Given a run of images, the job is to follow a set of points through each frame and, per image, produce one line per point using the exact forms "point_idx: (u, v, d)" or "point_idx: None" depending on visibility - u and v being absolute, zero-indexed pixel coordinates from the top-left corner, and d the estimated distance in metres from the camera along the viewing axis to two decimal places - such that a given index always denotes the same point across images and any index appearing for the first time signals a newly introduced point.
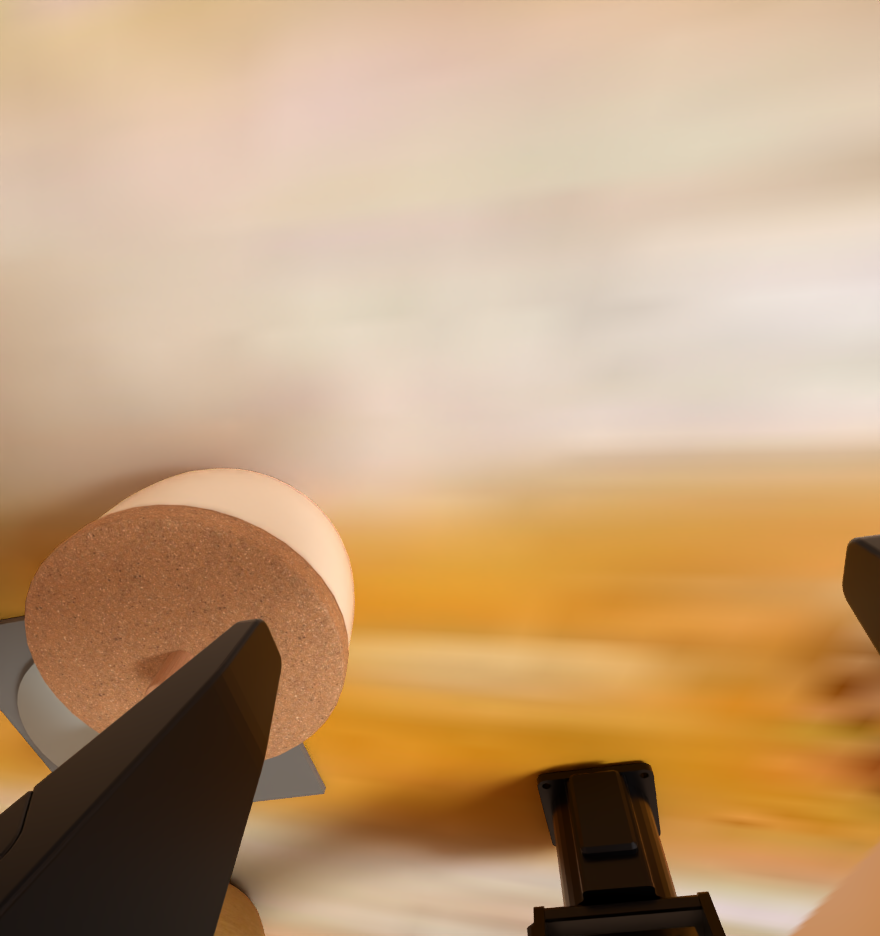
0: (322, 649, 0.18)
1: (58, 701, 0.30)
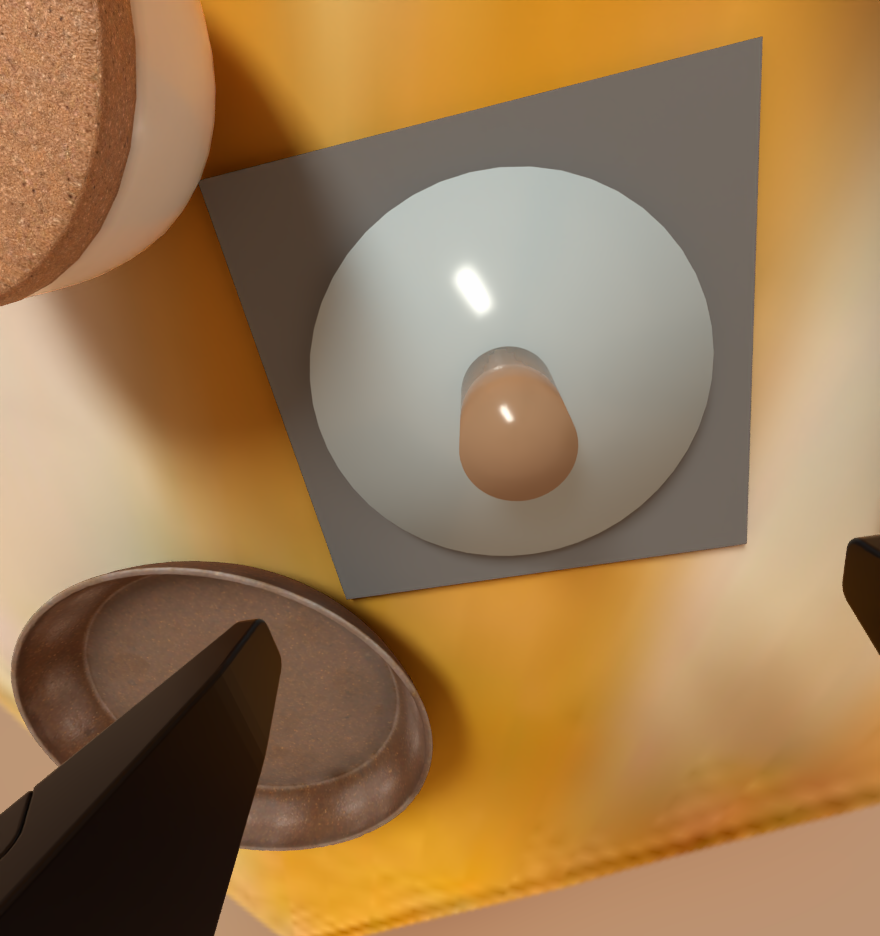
0: None
1: (437, 491, 0.20)
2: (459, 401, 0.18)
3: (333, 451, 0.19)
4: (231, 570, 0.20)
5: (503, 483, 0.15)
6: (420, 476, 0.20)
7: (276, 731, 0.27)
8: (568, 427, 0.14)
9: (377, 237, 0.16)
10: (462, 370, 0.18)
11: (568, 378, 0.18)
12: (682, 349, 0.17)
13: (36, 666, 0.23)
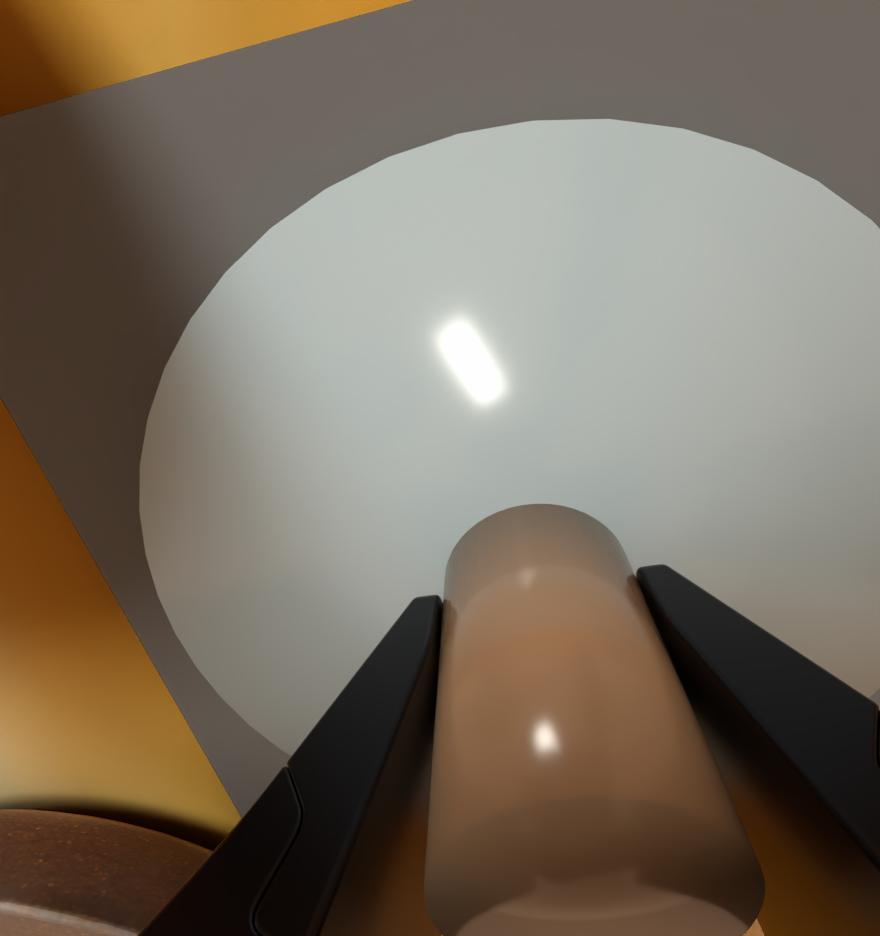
0: None
1: None
2: (441, 597, 0.09)
3: (207, 670, 0.10)
4: (21, 882, 0.11)
5: None
6: None
7: None
8: (742, 868, 0.05)
9: (252, 284, 0.07)
10: (446, 544, 0.09)
11: (661, 562, 0.09)
12: None
13: None
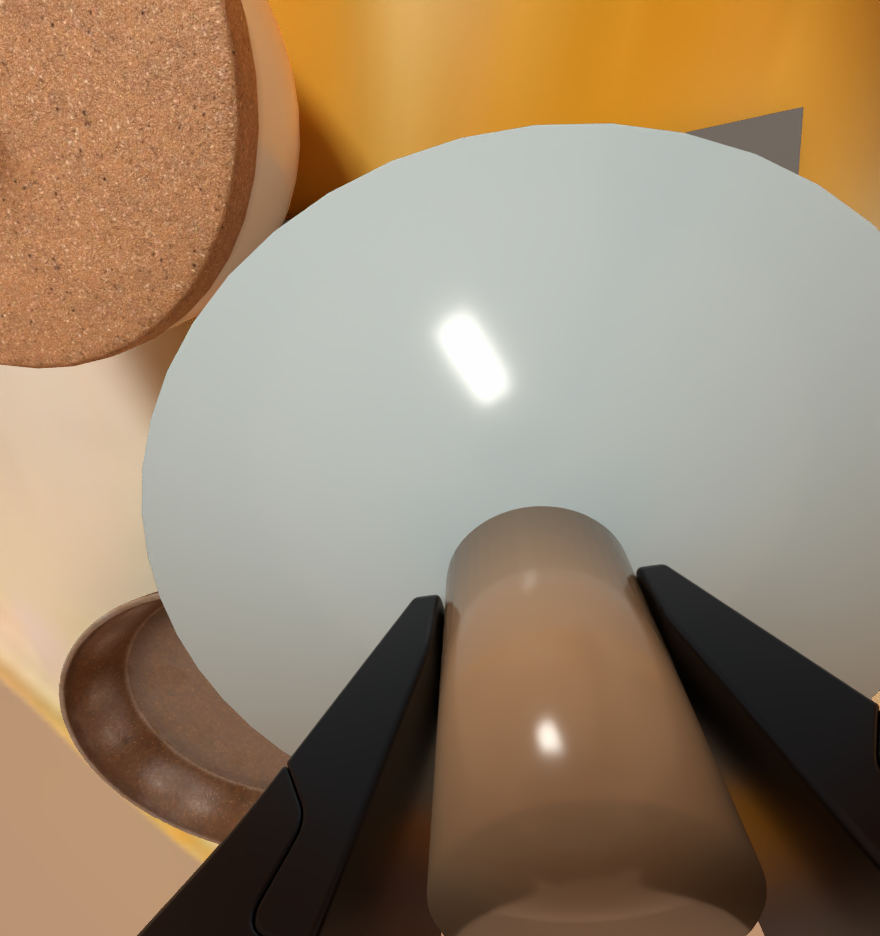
0: None
1: None
2: (443, 599, 0.09)
3: (209, 672, 0.10)
4: None
5: None
6: None
7: None
8: (744, 871, 0.05)
9: (255, 288, 0.07)
10: (448, 546, 0.09)
11: None
12: None
13: (82, 677, 0.24)
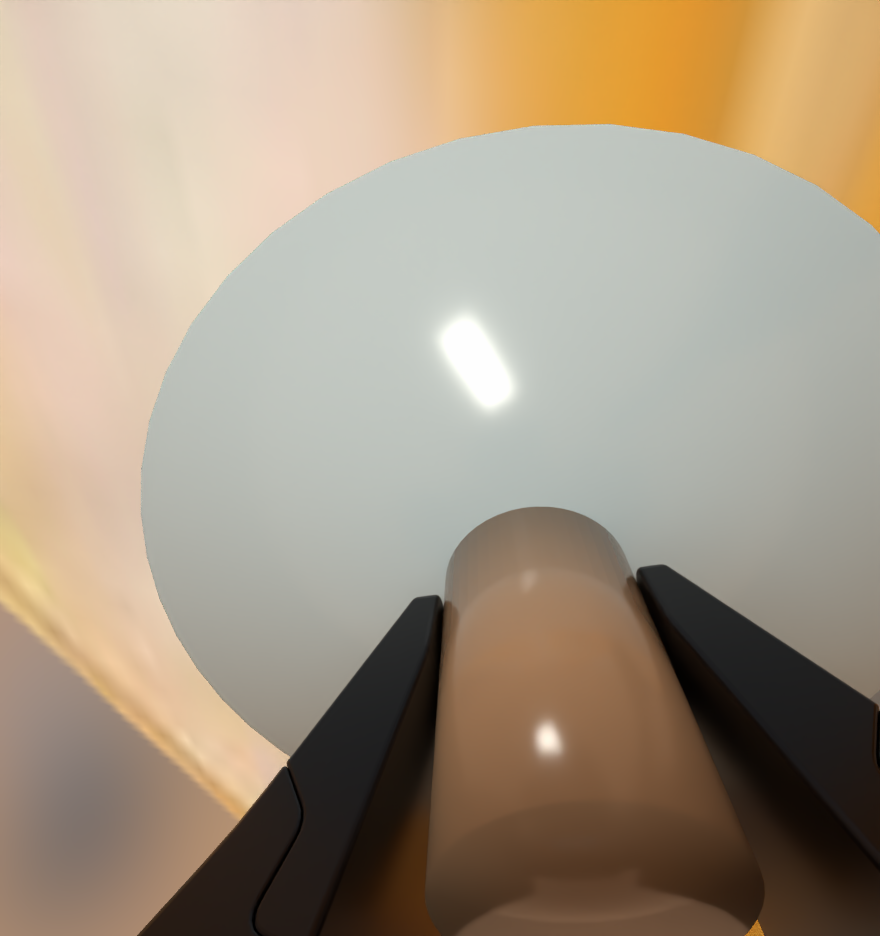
0: None
1: None
2: (442, 600, 0.09)
3: (208, 672, 0.10)
4: None
5: None
6: None
7: None
8: (741, 871, 0.05)
9: (253, 288, 0.07)
10: (447, 547, 0.09)
11: None
12: None
13: None
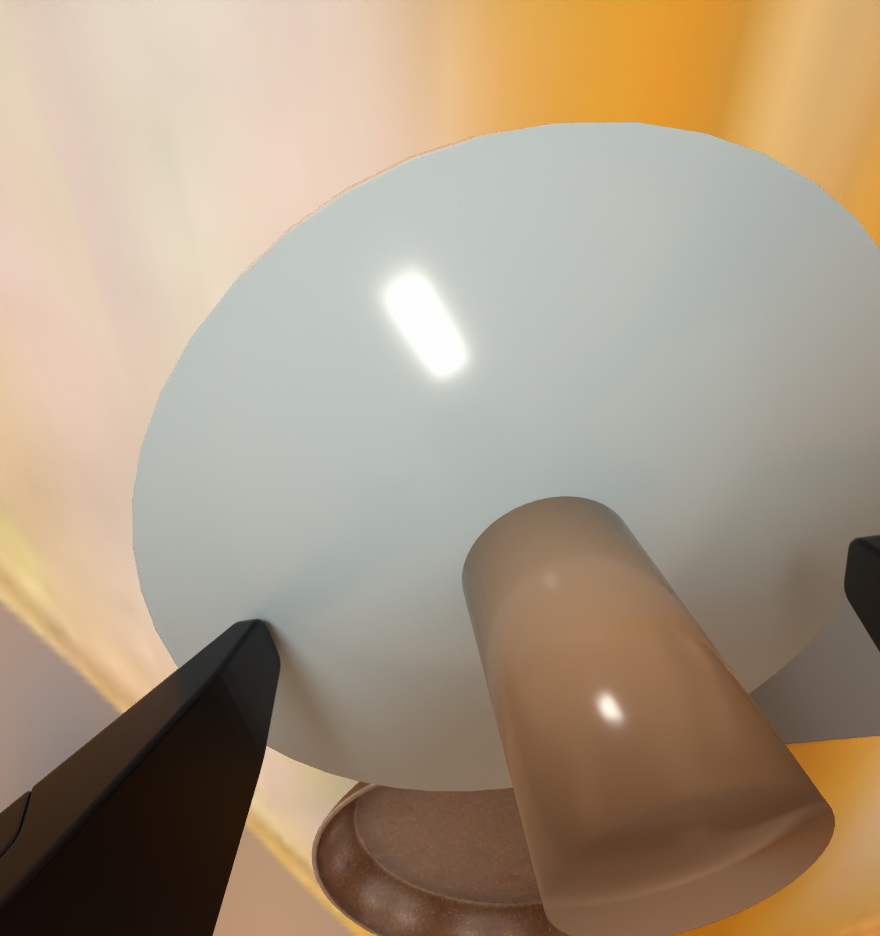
0: None
1: (418, 724, 0.11)
2: (458, 594, 0.09)
3: None
4: None
5: (640, 921, 0.06)
6: (386, 709, 0.11)
7: (513, 862, 0.30)
8: (819, 821, 0.05)
9: (261, 299, 0.07)
10: (464, 544, 0.09)
11: (661, 538, 0.09)
12: (863, 475, 0.09)
13: (331, 820, 0.26)
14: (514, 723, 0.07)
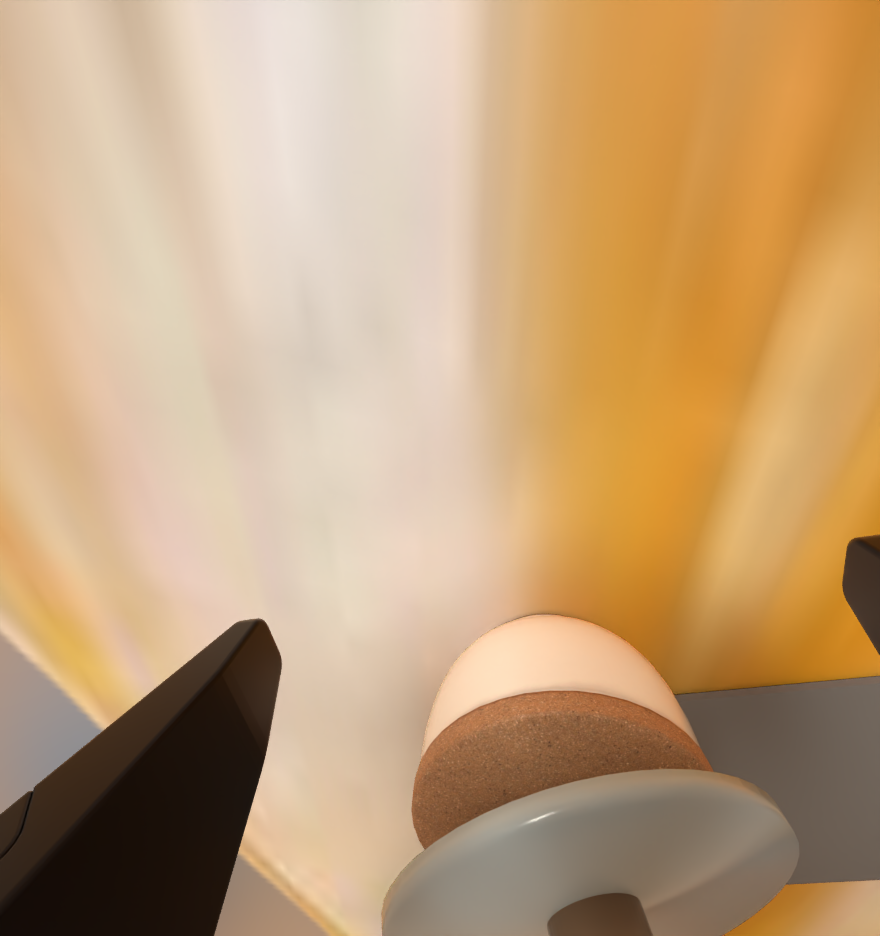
0: (568, 730, 0.17)
1: None
2: (544, 929, 0.17)
3: None
4: None
5: None
6: None
7: None
8: None
9: (474, 862, 0.14)
10: (551, 913, 0.17)
11: (656, 899, 0.17)
12: (768, 868, 0.17)
13: None
14: None
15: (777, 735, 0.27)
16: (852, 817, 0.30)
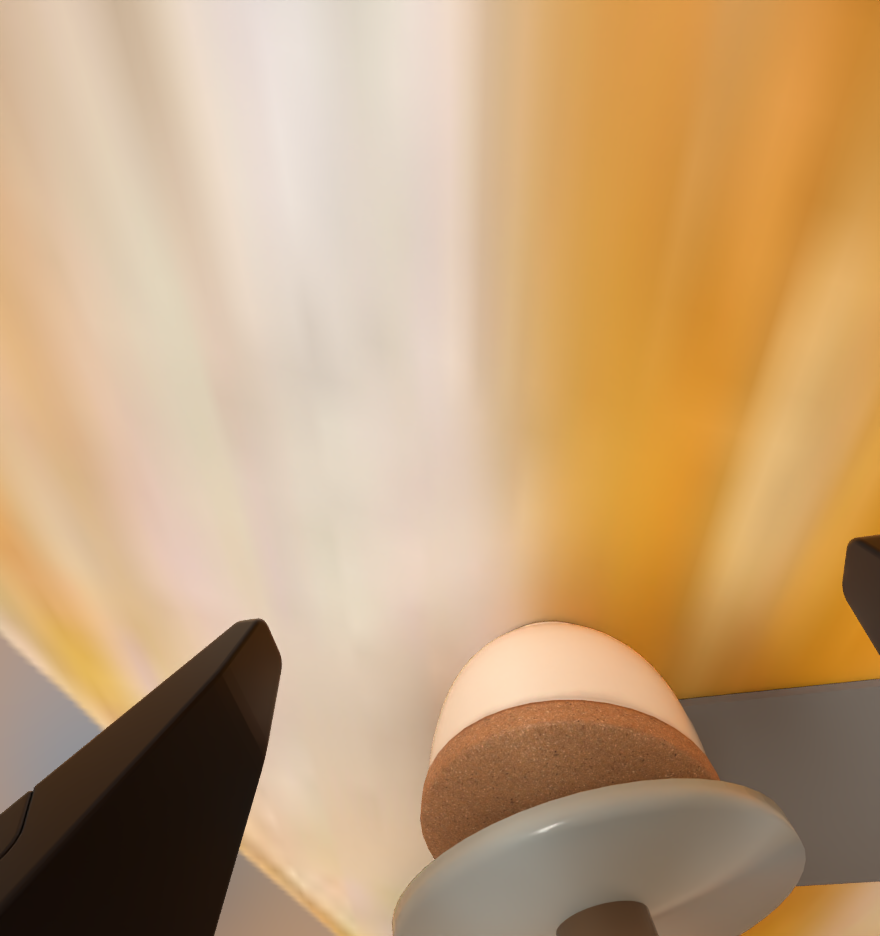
0: (574, 739, 0.17)
1: None
2: None
3: None
4: None
5: None
6: None
7: None
8: None
9: (482, 872, 0.14)
10: (559, 921, 0.17)
11: (664, 906, 0.17)
12: (775, 874, 0.17)
13: None
14: None
15: (784, 737, 0.27)
16: (861, 819, 0.30)
